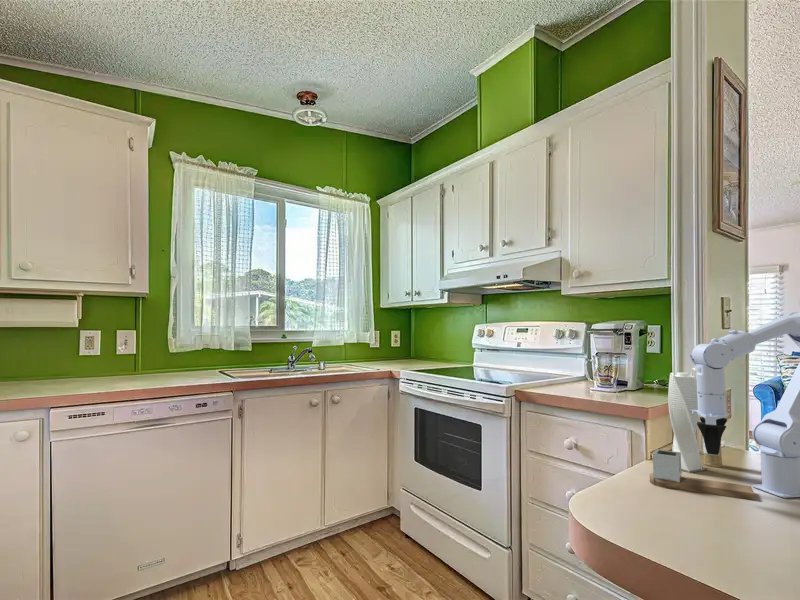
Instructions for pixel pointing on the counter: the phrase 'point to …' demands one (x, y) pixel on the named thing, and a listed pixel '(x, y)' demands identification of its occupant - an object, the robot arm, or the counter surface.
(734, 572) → the counter surface
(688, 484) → the walnut base
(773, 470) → the robot arm
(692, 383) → the skyscraper
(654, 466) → the steel collar
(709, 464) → the sprinkles bottle
